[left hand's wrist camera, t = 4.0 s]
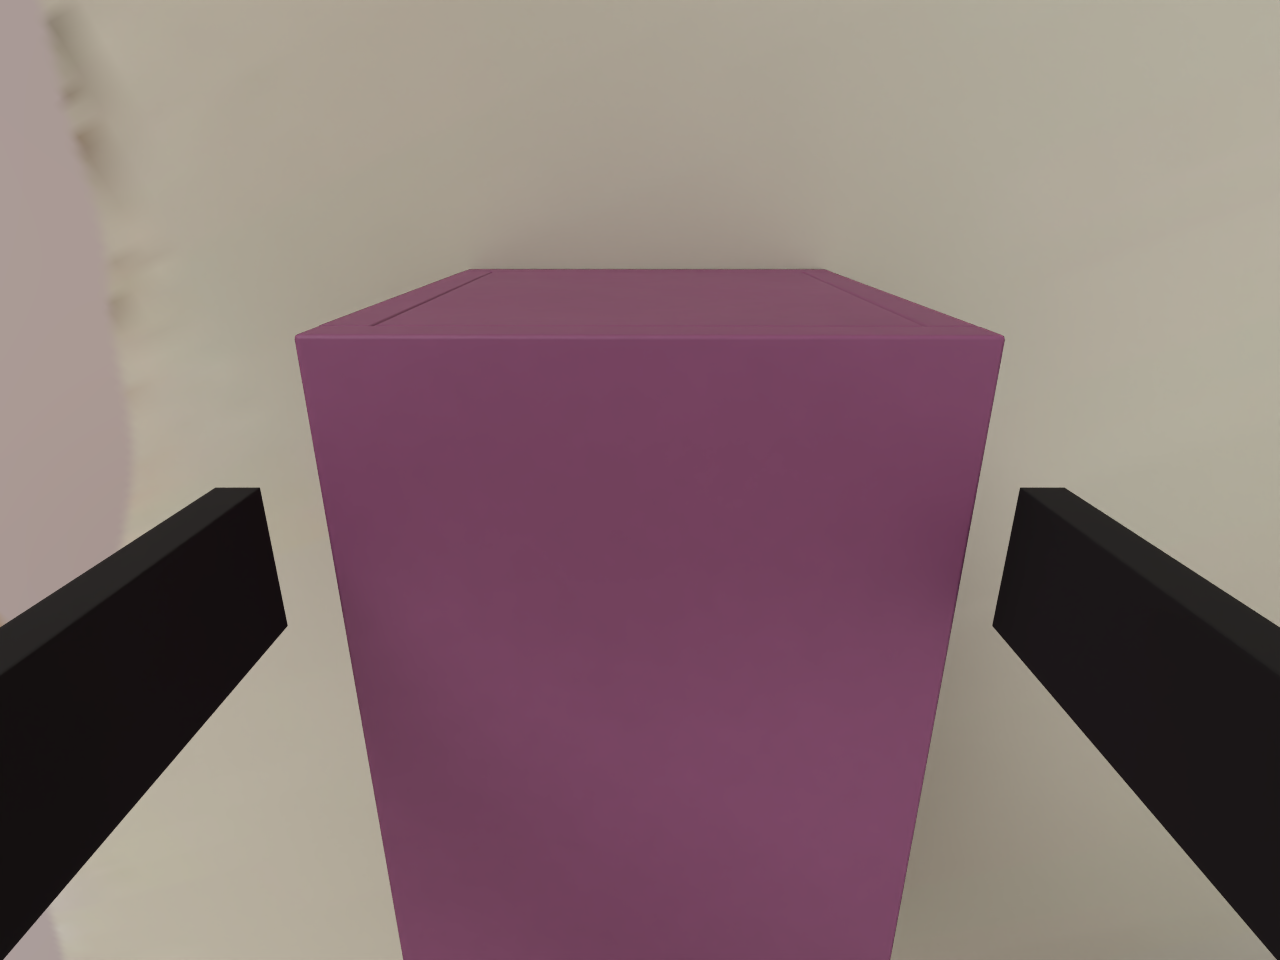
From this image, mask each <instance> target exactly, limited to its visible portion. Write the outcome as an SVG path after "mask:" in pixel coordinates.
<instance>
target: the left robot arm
mask: <svg viewBox="0 0 1280 960" xmlns="http://www.w3.org/2000/svg"><path fill="white" fill-rule="evenodd" d="M287 626H288V625H287V620H286V615H285V610H284V605H283V600H282V595H281V590H280V585H279V581H278V576H277V571H276V566H275V561H274V556H273V551H272V546H271V541H270V536H269V531H268V526H267V521H266V516H265V511H264V506H263V501H262V496H261V491H260V488H214V489H213V490H211V491H210V492H208V493H207V494H205V495H204V496H202V497H200V498H199V499H197V500H196V501H194V502H193V503H191V504H190V505H188V506H187V507H185V508H183V509H182V510H180V511H179V512H177V513H176V514H174V515H173V516H171V517H170V518H168V519H167V520H165V521H163V522H162V523H160V524H159V525H157V526H156V527H154V528H153V529H151V530H150V531H148V532H146V533H145V534H143V535H142V536H140V537H139V538H137V539H136V540H134V541H133V542H131V543H130V544H128V545H126V546H125V547H123V548H122V549H120V550H119V551H117V552H116V553H114V554H113V555H111V556H110V557H108V558H106V559H105V560H103V561H102V562H100V563H99V564H97V565H96V566H94V567H93V568H91V569H89V570H88V571H86V572H85V573H83V574H82V575H80V576H79V577H77V578H76V579H74V580H73V581H71V582H69V583H68V584H66V585H65V586H63V587H62V588H60V589H59V590H57V591H56V592H54V593H53V594H51V595H49V596H48V597H46V598H45V599H43V600H42V601H40V602H39V603H37V604H36V605H34V606H32V607H31V608H30V609H28V610H26V611H25V612H23V613H22V614H20V615H19V616H17V617H16V618H14V619H13V620H11V621H9V622H8V623H6V624H5V625H3V626H2V627H0V960H3V959H4V958H5V957H6V956H7V955H8V953H9V952H10V951H11V950H12V949H13V947H14V946H15V945H16V944H17V943H18V942H19V940H20V939H21V938H22V937H23V936H24V935H25V933H26V932H27V931H28V930H29V929H30V927H31V926H32V925H33V924H34V923H35V922H36V920H37V919H38V918H39V917H40V916H41V915H42V913H43V912H44V911H45V910H46V909H47V908H48V906H49V905H50V904H51V903H52V902H53V901H54V899H55V898H56V897H57V896H58V895H59V893H60V892H61V891H62V890H63V889H64V888H65V886H66V885H67V884H68V883H69V882H70V881H71V879H72V878H73V877H74V876H75V875H76V874H77V872H78V871H79V870H80V869H81V868H82V866H83V865H84V864H85V863H86V862H87V861H88V859H89V858H90V857H91V856H92V855H93V854H94V852H95V851H96V850H97V849H98V848H99V847H100V845H101V844H102V843H103V842H104V841H105V839H106V838H107V837H108V836H109V835H110V834H111V832H112V831H113V830H114V829H115V828H116V827H117V825H118V824H119V823H120V822H121V821H122V820H123V818H124V817H125V816H126V815H127V814H128V812H129V811H130V810H131V809H132V808H133V807H134V805H135V804H136V803H137V802H138V801H139V800H140V798H141V797H142V796H143V795H144V794H145V793H146V791H147V790H148V789H149V788H150V787H151V786H152V784H153V783H154V782H155V781H156V780H157V778H158V777H159V776H160V775H161V774H162V773H163V771H164V770H165V769H166V768H167V767H168V766H169V764H170V763H171V762H172V761H173V760H174V759H175V757H176V756H177V755H178V754H179V753H180V751H181V750H182V749H183V748H184V747H185V746H186V744H187V743H188V742H189V741H190V740H191V739H192V737H193V736H194V735H195V734H196V733H197V732H198V730H199V729H200V728H201V727H202V726H203V724H204V723H205V722H206V721H207V720H208V719H209V717H210V716H211V715H212V714H213V713H214V712H215V710H216V709H217V708H218V707H219V706H220V705H221V703H222V702H223V701H224V700H225V699H226V697H227V696H228V695H229V694H230V693H231V692H232V690H233V689H234V688H235V687H236V686H237V685H238V683H239V682H240V681H241V680H242V679H243V678H244V676H245V675H246V674H247V673H248V672H249V670H250V669H251V668H252V667H253V666H254V665H255V663H256V662H257V661H258V660H259V659H260V658H261V656H262V655H263V654H264V653H265V652H266V651H267V649H268V648H269V647H270V646H271V645H272V643H273V642H274V641H275V640H276V639H277V638H278V636H279V635H280V634H281V633H282V632H283V631H284V629H285V628H286V627H287ZM992 626H993V627H994V628H995V629H996V631H997V632H998V633H999V634H1000V635H1001V636H1002V638H1003V639H1004V640H1005V641H1006V642H1007V643H1008V645H1009V646H1010V647H1011V648H1012V649H1013V651H1014V652H1015V653H1016V654H1017V655H1018V656H1019V658H1020V659H1021V660H1022V661H1023V662H1024V663H1025V665H1026V666H1027V667H1028V668H1029V669H1030V670H1031V672H1032V673H1033V674H1034V675H1035V676H1036V678H1037V679H1038V680H1039V681H1040V682H1041V683H1042V685H1043V686H1044V687H1045V688H1046V689H1047V690H1048V692H1049V693H1050V694H1051V695H1052V696H1053V697H1054V699H1055V700H1056V701H1057V702H1058V703H1059V705H1060V706H1061V707H1062V708H1063V709H1064V710H1065V712H1066V713H1067V714H1068V715H1069V716H1070V717H1071V719H1072V720H1073V721H1074V722H1075V723H1076V724H1077V726H1078V727H1079V728H1080V729H1081V730H1082V732H1083V733H1084V734H1085V735H1086V736H1087V737H1088V739H1089V740H1090V741H1091V742H1092V743H1093V744H1094V746H1095V747H1096V748H1097V749H1098V750H1099V751H1100V753H1101V754H1102V755H1103V756H1104V757H1105V759H1106V760H1107V761H1108V762H1109V763H1110V764H1111V766H1112V767H1113V768H1114V769H1115V770H1116V771H1117V773H1118V774H1119V775H1120V776H1121V777H1122V778H1123V780H1124V781H1125V782H1126V783H1127V784H1128V786H1129V787H1130V788H1131V789H1132V790H1133V791H1134V793H1135V794H1136V795H1137V796H1138V797H1139V798H1140V800H1141V801H1142V802H1143V803H1144V804H1145V805H1146V807H1147V808H1148V809H1149V810H1150V811H1151V812H1152V814H1153V815H1154V816H1155V817H1156V818H1157V820H1158V821H1159V822H1160V823H1161V824H1162V825H1163V827H1164V828H1165V829H1166V830H1167V831H1168V832H1169V834H1170V835H1171V836H1172V837H1173V838H1174V839H1175V841H1176V842H1177V843H1178V844H1179V845H1180V847H1181V848H1182V849H1183V850H1184V851H1185V852H1186V854H1187V855H1188V856H1189V857H1190V858H1191V859H1192V861H1193V862H1194V863H1195V864H1196V865H1197V866H1198V868H1199V869H1200V870H1201V871H1202V872H1203V874H1204V875H1205V876H1206V877H1207V878H1208V879H1209V881H1210V882H1211V883H1212V884H1213V885H1214V886H1215V888H1216V889H1217V890H1218V891H1219V892H1220V893H1221V895H1222V896H1223V897H1224V898H1225V899H1226V901H1227V902H1228V903H1229V904H1230V905H1231V906H1232V908H1233V909H1234V910H1235V911H1236V912H1237V913H1238V915H1239V916H1240V917H1241V918H1242V919H1243V920H1244V922H1245V923H1246V924H1247V925H1248V926H1249V928H1250V929H1251V930H1252V931H1253V932H1254V933H1255V935H1256V936H1257V937H1258V938H1259V939H1260V940H1261V942H1262V943H1263V944H1264V945H1265V946H1266V947H1267V949H1268V950H1269V951H1270V952H1271V953H1272V955H1273V956H1274V957H1275V958H1276V959H1277V960H1280V627H1278V626H1277V625H1275V624H1274V623H1272V622H1271V621H1269V620H1268V619H1266V618H1264V617H1263V616H1261V615H1260V614H1258V613H1257V612H1255V611H1254V610H1252V609H1251V608H1249V607H1248V606H1246V605H1244V604H1243V603H1241V602H1240V601H1238V600H1237V599H1235V598H1234V597H1232V596H1231V595H1229V594H1227V593H1226V592H1224V591H1223V590H1221V589H1220V588H1218V587H1217V586H1215V585H1214V584H1212V583H1211V582H1209V581H1207V580H1206V579H1204V578H1203V577H1201V576H1200V575H1198V574H1197V573H1195V572H1194V571H1192V570H1191V569H1189V568H1187V567H1186V566H1184V565H1183V564H1181V563H1180V562H1178V561H1177V560H1175V559H1174V558H1172V557H1170V556H1169V555H1167V554H1166V553H1164V552H1163V551H1161V550H1160V549H1158V548H1157V547H1155V546H1154V545H1152V544H1150V543H1149V542H1147V541H1146V540H1144V539H1143V538H1141V537H1140V536H1138V535H1137V534H1135V533H1134V532H1132V531H1130V530H1129V529H1127V528H1126V527H1124V526H1123V525H1121V524H1120V523H1118V522H1117V521H1115V520H1113V519H1112V518H1110V517H1109V516H1107V515H1106V514H1104V513H1103V512H1101V511H1100V510H1098V509H1097V508H1095V507H1093V506H1092V505H1090V504H1089V503H1087V502H1086V501H1084V500H1083V499H1081V498H1080V497H1078V496H1076V495H1075V494H1073V493H1072V492H1070V491H1069V490H1067V489H1066V488H1020V491H1019V496H1018V501H1017V506H1016V511H1015V516H1014V521H1013V526H1012V531H1011V536H1010V541H1009V546H1008V551H1007V556H1006V561H1005V566H1004V571H1003V576H1002V581H1001V585H1000V590H999V595H998V600H997V605H996V610H995V615H994V620H993V625H992Z"/></svg>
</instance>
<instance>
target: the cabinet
mask: <svg viewBox="0 0 1280 960" xmlns="http://www.w3.org/2000/svg"><path fill="white" fill-rule="evenodd" d="M1004 341H1005V339H1004V336H1002V335H1000V334H997V333H995V332H992V331H989V330H987V329H984V328H981V327H977V326H975V325H973V324H970V323H967V322H965V321H962V320H959V319H956V318H954V317H951V316H948V315H946V314H943V313H940V312H938V311H935V310H932V309H930V308H927V307H924V306H921V305H919V304H916V303H913V302H911V301H908V300H905V299H903V298H900V297H897V296H894V295H892V294H889V293H886V292H884V291H881V290H878V289H876V288H873V287H870V286H868V285H865V284H862V283H859V282H857V281H854V280H851V279H849V278H846V277H843V276H841V275H838V274H835V273H833V272H830V271H828V270H825V269H469V270H466V271H464V272H461V273H458V274H455V275H453V276H450V277H447V278H445V279H442V280H439V281H437V282H434V283H431V284H429V285H426V286H423V287H421V288H418V289H415V290H413V291H410V292H407V293H405V294H402V295H399V296H397V297H394V298H391V299H389V300H386V301H383V302H381V303H378V304H375V305H373V306H370V307H367V308H365V309H362V310H359V311H357V312H354V313H351V314H349V315H346V316H343V317H341V318H338V319H335V320H333V321H330V322H327V323H325V324H322V325H320V326H318V327H316V328H313V329H310V330H308V331H305V332H302V333H300V334H297V335H296V336H295V343H296V349H297V354H298V360H299V366H300V372H301V377H302V383H303V389H304V394H305V400H306V406H307V412H308V417H309V423H310V429H311V434H312V440H313V446H314V452H315V457H316V463H317V469H318V474H319V480H320V486H321V492H322V497H323V503H324V509H325V515H326V520H327V526H328V532H329V537H330V543H331V549H332V555H333V560H334V566H335V572H336V577H337V583H338V589H339V595H340V600H341V606H342V612H343V617H344V623H345V629H346V635H347V640H348V646H349V652H350V657H351V663H352V669H353V675H354V680H355V686H356V692H357V697H358V703H359V709H360V715H361V720H362V726H363V732H364V737H365V743H366V749H367V755H368V760H369V766H370V772H371V777H372V783H373V789H374V795H375V800H376V806H377V812H378V817H379V823H380V829H381V835H382V840H383V846H384V852H385V857H386V863H387V869H388V875H389V880H390V886H391V892H392V897H393V903H394V909H395V915H396V920H397V926H398V932H399V937H400V943H401V949H402V955H403V960H890V958H891V952H892V947H893V941H894V936H895V931H896V925H897V920H898V914H899V909H900V904H901V898H902V893H903V887H904V882H905V877H906V871H907V866H908V860H909V855H910V849H911V844H912V839H913V833H914V828H915V822H916V817H917V812H918V806H919V801H920V795H921V790H922V785H923V779H924V774H925V768H926V763H927V757H928V752H929V747H930V741H931V736H932V730H933V725H934V720H935V714H936V709H937V703H938V698H939V693H940V687H941V682H942V676H943V671H944V666H945V660H946V655H947V649H948V644H949V638H950V633H951V628H952V622H953V617H954V611H955V606H956V601H957V595H958V590H959V584H960V579H961V574H962V568H963V563H964V557H965V552H966V547H967V541H968V536H969V530H970V525H971V519H972V514H973V509H974V503H975V498H976V492H977V487H978V482H979V476H980V471H981V465H982V460H983V455H984V449H985V444H986V438H987V433H988V427H989V422H990V417H991V411H992V406H993V400H994V395H995V390H996V384H997V379H998V373H999V368H1000V363H1001V357H1002V352H1003V346H1004Z"/></svg>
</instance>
